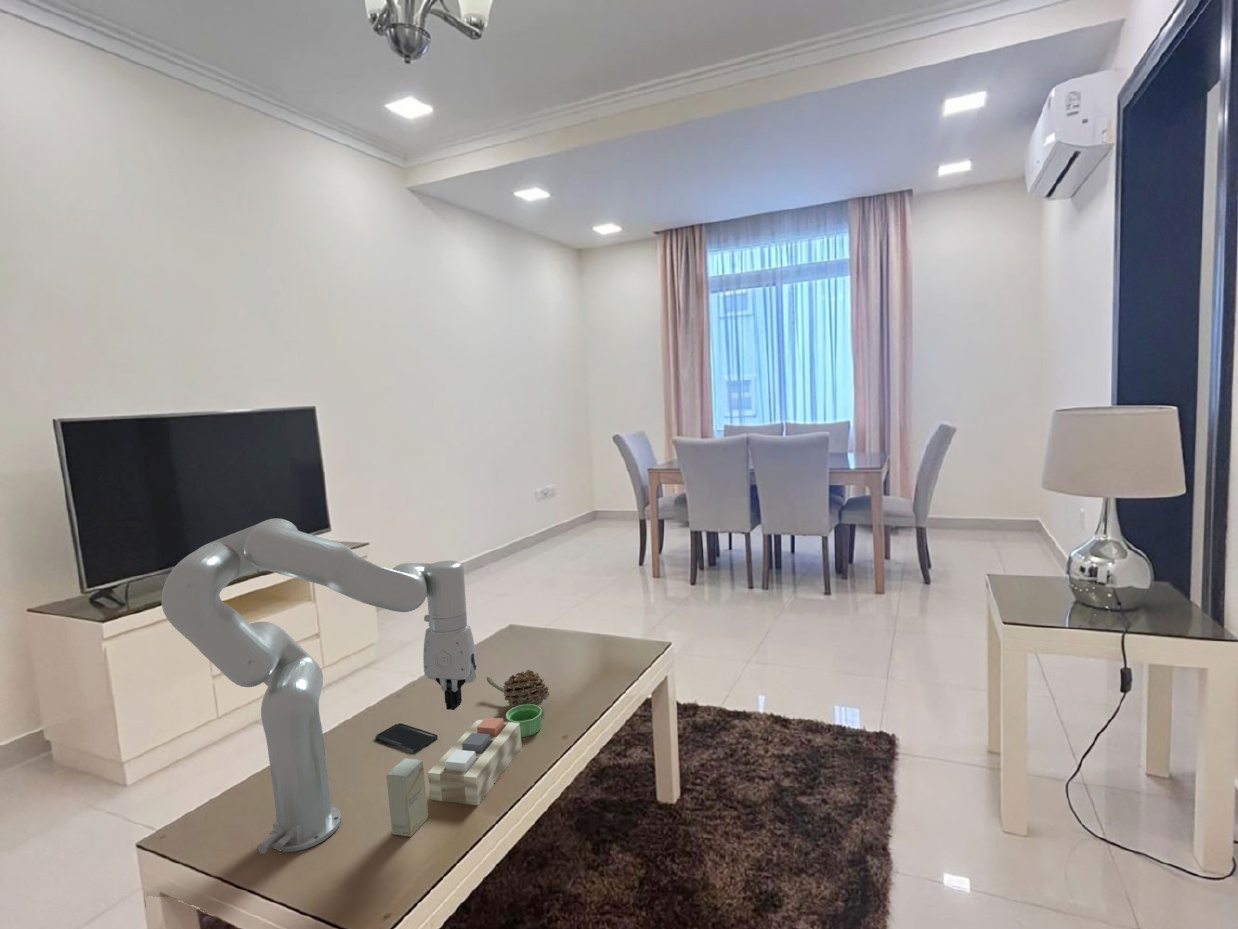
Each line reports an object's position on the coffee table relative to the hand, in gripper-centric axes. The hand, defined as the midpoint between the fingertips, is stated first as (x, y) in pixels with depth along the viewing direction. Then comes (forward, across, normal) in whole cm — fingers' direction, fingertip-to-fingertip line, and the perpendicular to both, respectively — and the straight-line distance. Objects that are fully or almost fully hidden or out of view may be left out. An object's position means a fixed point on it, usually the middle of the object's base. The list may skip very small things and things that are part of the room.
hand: (453, 706), depth 132 cm
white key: (+16, +1, 0) cm, 17 cm away
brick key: (+16, +1, +14) cm, 22 cm away
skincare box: (+19, -4, -12) cm, 23 cm away
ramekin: (+19, +4, +26) cm, 33 cm away
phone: (+20, -24, +18) cm, 36 cm away
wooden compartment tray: (+19, +1, +8) cm, 20 cm away
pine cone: (+19, -4, +38) cm, 43 cm away
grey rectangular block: (+16, +1, +7) cm, 18 cm away
